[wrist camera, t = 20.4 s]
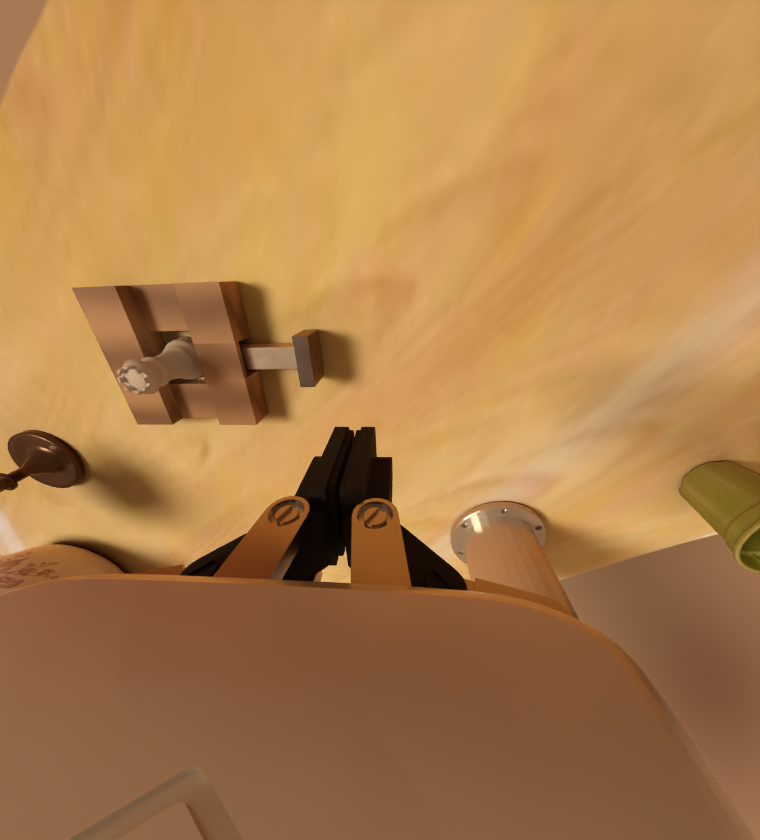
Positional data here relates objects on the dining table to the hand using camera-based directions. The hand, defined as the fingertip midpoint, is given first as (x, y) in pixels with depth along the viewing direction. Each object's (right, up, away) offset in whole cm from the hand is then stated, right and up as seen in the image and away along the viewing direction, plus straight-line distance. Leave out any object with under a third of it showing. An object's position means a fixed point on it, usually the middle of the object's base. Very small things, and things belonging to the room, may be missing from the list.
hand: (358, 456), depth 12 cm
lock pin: (-12, +9, +18) cm, 23 cm away
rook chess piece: (-19, +9, +19) cm, 28 cm away
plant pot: (+40, -6, +21) cm, 46 cm away
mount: (-20, +9, +19) cm, 28 cm away
